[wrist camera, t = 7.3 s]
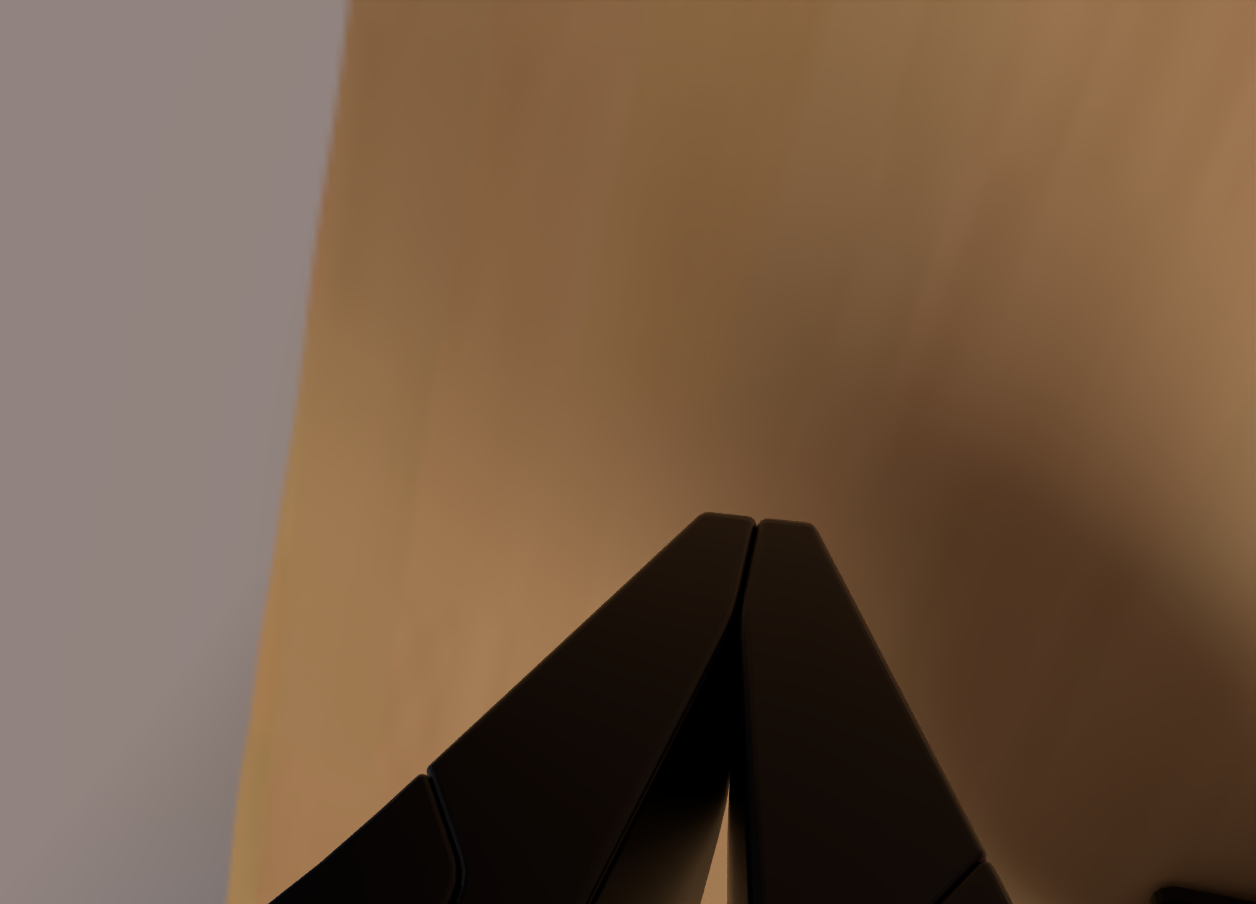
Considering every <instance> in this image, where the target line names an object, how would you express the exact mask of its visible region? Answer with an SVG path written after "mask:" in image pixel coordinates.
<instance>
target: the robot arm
mask: <svg viewBox="0 0 1256 904" xmlns="http://www.w3.org/2000/svg"><path fill="white" fill-rule="evenodd" d="M729 784H730V787H729ZM728 790H729V808H728V842H727V904H1013V902H1012V901H1011V899H1010V897H1009V895H1008V893H1007V891H1006V889H1005V887H1004V885H1003V883H1002V881H1001V879H1000V878H999V876H998V874H997V872H996V870H995V868H994V866H993V865H992V864H991V863H989V862H986V852H985V850H984V848H983V846H982V844H981V842H980V841H979V839H978V837H977V835H976V833H975V831H974V829H973V827H972V825H971V823H970V821H969V819H968V818H967V816H966V814H965V812H964V810H963V808H962V806H961V804H960V802H959V800H958V798H957V796H956V795H955V793H954V791H953V789H952V787H951V785H950V783H949V781H948V779H947V777H946V775H945V774H944V772H943V770H942V768H941V766H940V764H939V762H938V760H937V758H936V756H935V754H934V752H933V751H932V749H931V747H930V745H929V743H928V741H927V739H926V737H925V735H924V733H923V731H922V730H921V728H920V726H919V724H918V722H917V720H916V718H915V716H914V714H913V712H912V710H911V708H910V707H909V705H908V703H907V701H906V699H905V697H904V695H903V693H902V691H901V689H900V687H899V685H898V684H897V682H896V680H895V678H894V676H893V674H892V672H891V670H890V668H889V666H888V664H887V663H886V661H885V659H884V657H883V655H882V653H881V651H880V649H879V647H878V645H877V643H876V641H875V640H874V638H873V636H872V634H871V632H870V630H869V628H868V626H867V624H866V622H865V620H864V619H863V617H862V615H861V613H860V611H859V609H858V607H857V605H856V603H855V601H854V599H853V597H852V596H851V594H850V592H849V590H848V588H847V586H846V584H845V582H844V580H843V578H842V576H841V574H840V573H839V571H838V569H837V567H836V565H835V563H834V561H833V559H832V557H831V555H830V553H829V552H828V550H827V548H826V546H825V544H824V542H823V540H822V538H821V536H820V534H819V532H818V531H817V529H816V528H815V527H814V526H813V525H812V524H810V523H807V522H798V521H788V520H778V519H764V520H762V521H760V523H759V524H758V526H757V525H756V522H755V520H754V519H753V518H751V517H748V516H741V515H731V514H722V513H713V512H705V513H703V514H701V515H699V516H698V517H697V518H696V519H695V520H694V521H692V522H691V523H690V524H689V525H688V526H687V527H686V528H685V529H684V530H683V531H682V532H681V533H679V534H678V535H677V536H676V537H675V538H674V539H673V540H672V541H671V542H670V543H669V544H668V545H667V546H665V547H664V548H663V549H662V550H661V551H660V552H659V553H658V554H657V555H656V556H655V557H654V558H653V559H651V560H650V561H649V562H648V563H647V564H646V565H645V566H644V567H643V568H642V569H641V570H640V571H638V572H637V573H636V574H635V575H634V576H633V577H632V578H631V579H630V580H629V581H628V582H627V583H626V584H624V585H623V586H622V587H621V588H620V589H619V590H618V591H617V592H616V593H615V594H614V595H613V596H612V597H610V598H609V599H608V600H607V601H606V602H605V603H604V604H603V605H602V606H601V607H600V608H599V609H598V610H596V611H595V612H594V613H593V614H592V615H591V616H590V617H589V618H588V619H587V620H586V621H585V622H583V623H582V624H581V625H580V626H579V627H578V628H577V629H576V630H575V631H574V632H573V633H572V634H571V635H569V636H568V637H567V638H566V639H565V640H564V641H563V642H562V643H561V644H560V645H559V646H558V647H557V648H555V649H554V650H553V651H552V652H551V653H550V654H549V655H548V656H547V657H546V658H545V659H544V660H542V661H541V662H540V663H539V664H538V665H537V666H536V667H535V668H534V669H533V670H532V671H531V672H530V673H528V674H527V675H526V676H525V677H524V678H523V679H522V680H521V681H520V682H519V683H518V684H517V685H516V686H514V687H513V688H512V689H511V690H510V691H509V692H508V693H507V694H506V695H505V696H504V697H503V698H501V699H500V700H499V701H498V702H497V703H496V704H495V705H494V706H493V707H492V708H491V709H490V710H489V711H487V712H486V713H485V714H484V715H483V716H482V717H481V718H480V719H479V720H478V721H477V722H476V723H475V724H473V725H472V726H471V727H470V728H469V729H468V730H467V731H466V732H465V733H464V734H463V735H462V736H461V737H459V738H458V739H457V740H456V741H455V742H454V743H453V744H452V745H451V746H450V747H449V748H448V749H446V750H445V751H444V752H443V753H442V754H441V755H440V756H439V757H438V758H437V759H436V760H435V761H434V762H432V763H431V764H430V765H429V766H428V768H427V775H425V774H420V775H418V776H417V777H416V778H414V779H413V780H412V781H411V782H410V783H409V784H408V785H407V786H406V787H405V788H404V789H403V790H402V791H400V792H399V793H398V794H397V795H396V796H395V797H394V798H393V799H392V800H391V801H390V802H389V803H388V804H386V805H385V806H384V807H383V808H382V809H381V810H380V811H379V812H378V813H376V814H375V815H374V816H373V817H372V818H371V819H370V820H368V821H367V822H366V823H365V824H364V825H363V826H362V827H360V828H359V829H358V830H357V831H356V832H355V833H354V834H352V835H351V836H350V837H349V838H348V839H347V840H346V841H344V842H343V843H342V844H341V845H340V846H339V847H338V848H336V849H335V850H334V851H333V852H332V853H331V854H330V855H328V856H327V857H326V858H325V859H324V860H323V861H322V862H320V863H319V864H318V865H317V866H315V867H314V868H313V869H312V870H310V871H309V872H308V873H307V874H305V875H304V876H303V877H301V878H300V879H299V880H298V881H296V882H295V883H294V884H293V885H291V886H290V887H289V888H288V889H286V890H285V891H284V892H282V893H281V894H280V895H279V896H277V897H276V898H275V899H274V900H272V901H271V902H270V903H269V904H700V903H701V900H702V896H703V892H704V888H705V885H706V881H707V877H708V874H709V870H710V866H711V863H712V859H713V855H714V851H715V848H716V844H717V840H718V837H719V832H720V828H721V824H722V820H723V816H724V811H725V807H726V802H727V796H728ZM1149 904H1256V902H1252V901H1247V900H1242V899H1237V898H1232V897H1227V896H1222V895H1217V894H1212V893H1207V892H1202V891H1197V890H1192V889H1187V888H1182V887H1165V888H1161V889H1159V890H1158V891H1156V892H1154V894H1153V895H1152V897H1151V899H1150V903H1149Z"/></svg>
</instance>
